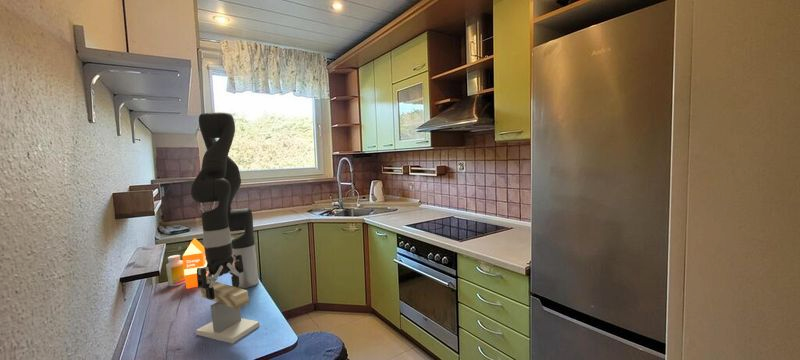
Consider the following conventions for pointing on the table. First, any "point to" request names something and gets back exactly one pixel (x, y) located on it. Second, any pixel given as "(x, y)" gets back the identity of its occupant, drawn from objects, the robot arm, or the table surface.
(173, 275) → the supplement bottle
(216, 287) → the rectangular block
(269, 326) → the table surface
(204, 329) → the stand
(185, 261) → the orange juice
